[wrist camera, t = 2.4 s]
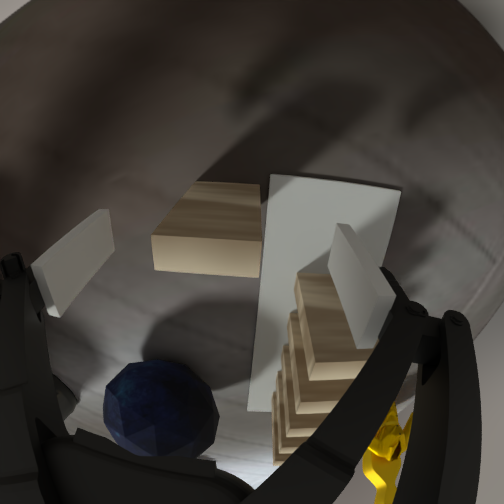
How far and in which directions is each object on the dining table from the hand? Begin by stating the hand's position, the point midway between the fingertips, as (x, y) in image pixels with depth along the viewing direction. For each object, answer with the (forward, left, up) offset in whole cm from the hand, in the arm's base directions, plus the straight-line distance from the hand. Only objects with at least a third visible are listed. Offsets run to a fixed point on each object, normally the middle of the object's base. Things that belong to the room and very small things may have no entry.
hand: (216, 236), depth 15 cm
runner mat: (+9, -16, -9) cm, 20 cm away
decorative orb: (-8, -25, -9) cm, 28 cm away
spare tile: (0, 0, -9) cm, 9 cm away
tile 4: (+9, -13, -9) cm, 18 cm away
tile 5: (+9, -8, -9) cm, 15 cm away
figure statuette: (+25, -34, -9) cm, 43 cm away
